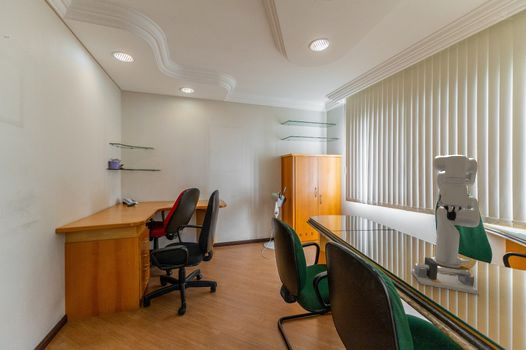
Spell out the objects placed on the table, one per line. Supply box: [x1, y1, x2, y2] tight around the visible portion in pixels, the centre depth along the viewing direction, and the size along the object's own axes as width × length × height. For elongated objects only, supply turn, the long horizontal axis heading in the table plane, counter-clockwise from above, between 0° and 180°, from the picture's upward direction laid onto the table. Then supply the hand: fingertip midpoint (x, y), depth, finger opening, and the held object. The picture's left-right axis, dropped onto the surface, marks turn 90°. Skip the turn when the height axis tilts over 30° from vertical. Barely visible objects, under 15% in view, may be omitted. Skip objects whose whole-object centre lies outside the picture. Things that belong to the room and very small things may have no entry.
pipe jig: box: [411, 262, 479, 295], centre depth 98 cm, size 20×12×7 cm, turn 73°
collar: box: [423, 256, 439, 280], centre depth 99 cm, size 2×7×7 cm, turn 163°
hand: (451, 220), depth 103 cm, fingers closed
